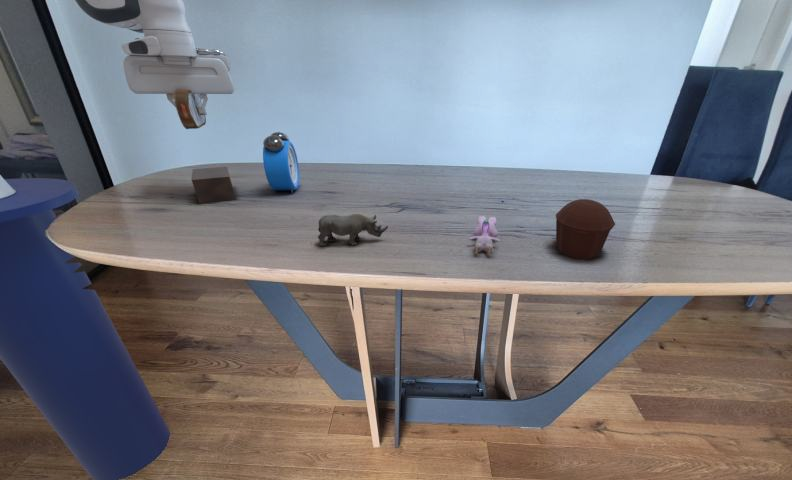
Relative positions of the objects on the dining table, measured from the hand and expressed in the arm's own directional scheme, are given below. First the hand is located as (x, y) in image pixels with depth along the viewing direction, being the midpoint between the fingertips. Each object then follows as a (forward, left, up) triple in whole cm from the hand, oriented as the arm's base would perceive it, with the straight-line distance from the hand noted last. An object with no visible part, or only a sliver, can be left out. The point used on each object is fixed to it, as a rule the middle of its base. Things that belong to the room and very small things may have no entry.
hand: (192, 115), depth 88 cm
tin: (0, 0, -3) cm, 3 cm away
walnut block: (0, 0, -20) cm, 20 cm away
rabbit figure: (+47, -58, -20) cm, 77 cm away
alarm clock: (+17, -2, -20) cm, 26 cm away
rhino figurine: (+23, -46, -20) cm, 55 cm away
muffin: (+62, -70, -20) cm, 96 cm away
